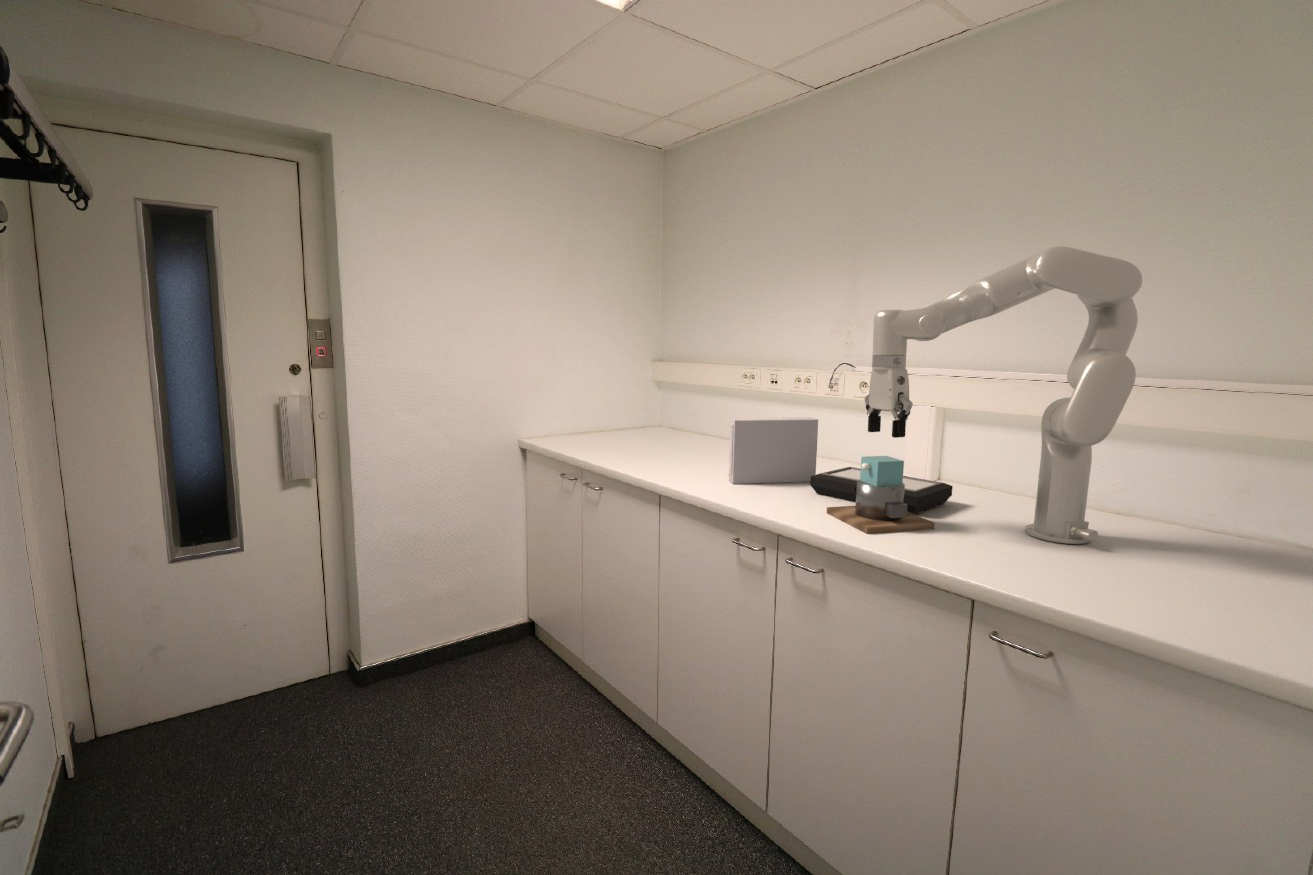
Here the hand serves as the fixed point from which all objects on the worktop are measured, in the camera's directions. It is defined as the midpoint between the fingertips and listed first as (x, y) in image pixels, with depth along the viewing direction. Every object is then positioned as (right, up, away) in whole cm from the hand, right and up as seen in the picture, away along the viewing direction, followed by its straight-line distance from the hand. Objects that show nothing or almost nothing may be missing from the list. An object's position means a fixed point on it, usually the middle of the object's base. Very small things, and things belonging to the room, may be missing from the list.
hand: (885, 434), depth 149 cm
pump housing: (-1, -12, +2) cm, 12 cm away
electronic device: (+7, -19, +25) cm, 32 cm away
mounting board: (-1, -21, +3) cm, 22 cm away
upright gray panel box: (-19, -15, +47) cm, 53 cm away
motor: (0, -20, +2) cm, 20 cm away
